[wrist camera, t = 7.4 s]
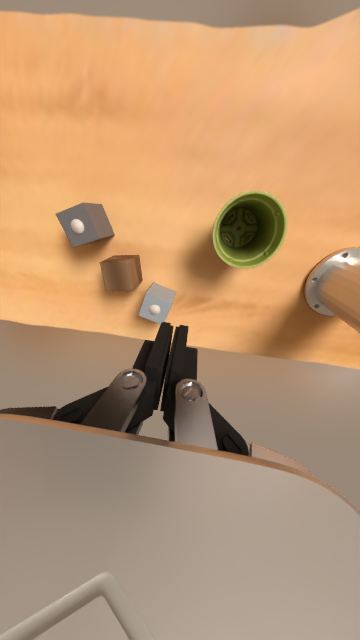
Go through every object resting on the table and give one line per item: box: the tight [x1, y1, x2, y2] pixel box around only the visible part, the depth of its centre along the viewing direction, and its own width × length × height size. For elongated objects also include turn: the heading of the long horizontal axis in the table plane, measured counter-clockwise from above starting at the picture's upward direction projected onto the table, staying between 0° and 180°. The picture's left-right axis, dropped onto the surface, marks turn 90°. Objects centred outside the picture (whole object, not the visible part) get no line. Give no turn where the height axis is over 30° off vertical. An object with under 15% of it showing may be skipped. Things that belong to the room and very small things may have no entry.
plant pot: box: [212, 191, 287, 269], centre depth 29 cm, size 9×9×9 cm
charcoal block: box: [56, 203, 115, 248], centre depth 32 cm, size 5×5×6 cm
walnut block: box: [100, 255, 143, 291], centre depth 35 cm, size 5×5×6 cm
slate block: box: [139, 283, 176, 324], centre depth 37 cm, size 5×5×6 cm
